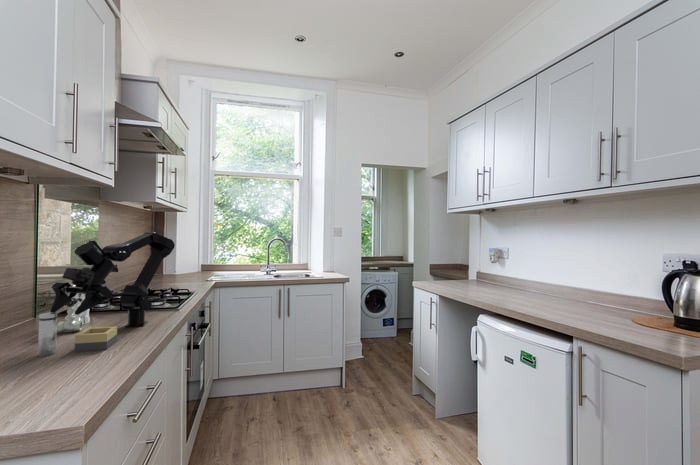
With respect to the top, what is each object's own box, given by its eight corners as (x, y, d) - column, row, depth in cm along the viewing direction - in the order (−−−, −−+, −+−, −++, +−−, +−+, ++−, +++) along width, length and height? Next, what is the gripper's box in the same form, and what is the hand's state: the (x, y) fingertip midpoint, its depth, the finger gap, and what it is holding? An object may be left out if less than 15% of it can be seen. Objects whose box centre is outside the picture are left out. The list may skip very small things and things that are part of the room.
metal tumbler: (42, 352, 102) (43, 312, 102) (59, 351, 103) (60, 312, 103) (34, 357, 98) (35, 315, 98) (51, 355, 99) (52, 315, 99)
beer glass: (65, 323, 133) (66, 286, 133) (86, 320, 139) (87, 284, 139) (74, 326, 130) (75, 287, 130) (94, 322, 136) (95, 285, 136)
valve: (62, 330, 124) (62, 298, 125) (84, 328, 127) (84, 297, 127) (54, 335, 118) (55, 301, 118) (77, 333, 121) (78, 300, 121)
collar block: (87, 343, 111) (87, 328, 111) (116, 341, 113) (117, 326, 113) (74, 351, 102) (75, 335, 103) (106, 349, 105) (107, 333, 105)
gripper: (58, 258, 112) (19, 296, 101) (105, 259, 109) (71, 299, 98) (80, 278, 120) (46, 316, 109) (125, 280, 116) (95, 320, 105)
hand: (63, 313), depth 105 cm, fingers open, 9 cm apart
